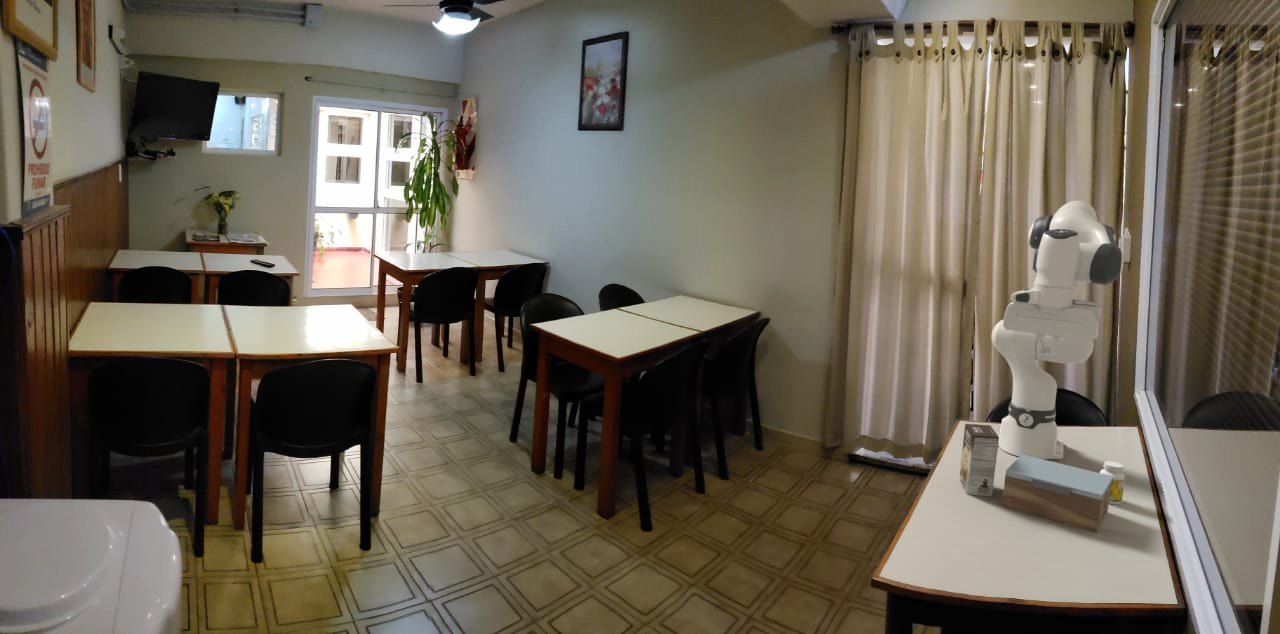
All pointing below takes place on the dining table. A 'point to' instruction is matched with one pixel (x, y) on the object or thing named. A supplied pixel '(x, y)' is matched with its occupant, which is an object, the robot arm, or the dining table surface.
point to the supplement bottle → (1115, 480)
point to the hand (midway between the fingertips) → (1046, 352)
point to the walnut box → (1056, 504)
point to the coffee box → (978, 459)
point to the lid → (1059, 477)
